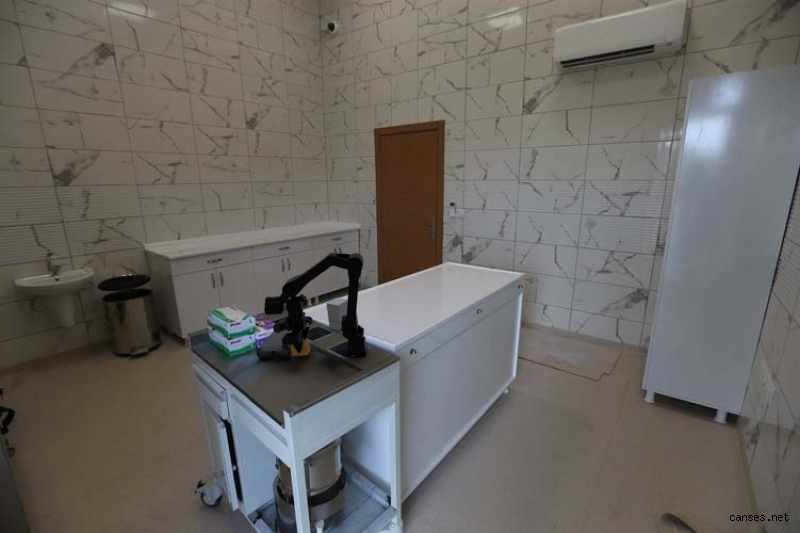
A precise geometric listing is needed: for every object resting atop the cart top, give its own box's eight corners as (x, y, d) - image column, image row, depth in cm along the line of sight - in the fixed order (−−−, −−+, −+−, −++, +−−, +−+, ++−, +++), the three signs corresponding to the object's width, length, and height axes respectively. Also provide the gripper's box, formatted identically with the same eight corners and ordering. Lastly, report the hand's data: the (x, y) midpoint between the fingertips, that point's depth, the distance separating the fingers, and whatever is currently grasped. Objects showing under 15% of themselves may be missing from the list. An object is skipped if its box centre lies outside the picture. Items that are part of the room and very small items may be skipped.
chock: (310, 349, 143) (309, 339, 141) (307, 355, 139) (306, 344, 137) (295, 350, 143) (293, 340, 142) (292, 355, 139) (290, 345, 138)
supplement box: (352, 325, 167) (349, 299, 164) (341, 331, 161) (338, 305, 158) (339, 322, 171) (336, 297, 168) (328, 328, 165) (325, 302, 162)
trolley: (302, 342, 154) (300, 328, 152) (290, 361, 140) (287, 345, 138) (272, 343, 155) (269, 329, 153) (257, 361, 141) (254, 346, 139)
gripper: (283, 303, 146) (288, 339, 150) (264, 324, 128) (271, 363, 132) (310, 302, 145) (315, 338, 149) (295, 323, 127) (301, 362, 131)
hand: (301, 349), depth 140 cm, fingers closed on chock, 4 cm apart
